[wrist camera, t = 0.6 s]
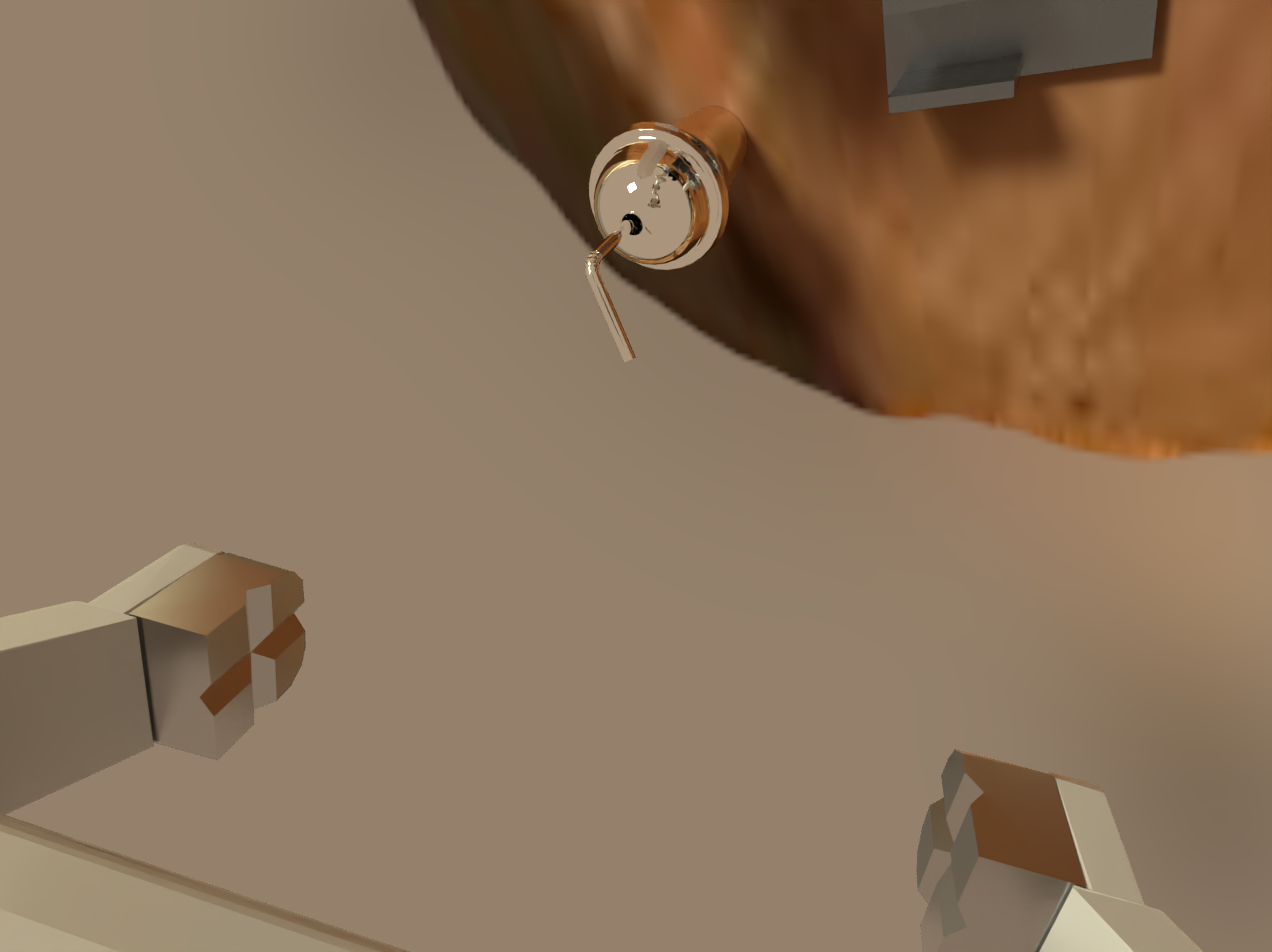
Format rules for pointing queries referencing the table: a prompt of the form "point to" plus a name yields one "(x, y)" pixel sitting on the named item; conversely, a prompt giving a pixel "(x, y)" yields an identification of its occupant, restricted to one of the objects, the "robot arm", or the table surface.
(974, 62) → the dish rack
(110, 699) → the robot arm
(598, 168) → the cup with straw
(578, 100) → the table surface
